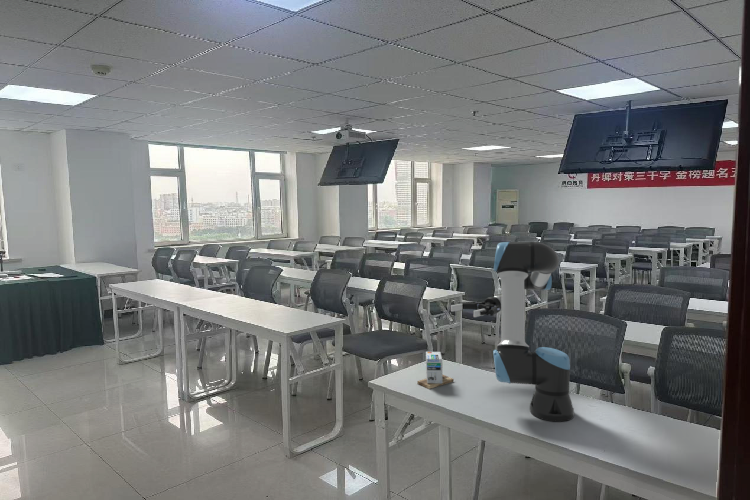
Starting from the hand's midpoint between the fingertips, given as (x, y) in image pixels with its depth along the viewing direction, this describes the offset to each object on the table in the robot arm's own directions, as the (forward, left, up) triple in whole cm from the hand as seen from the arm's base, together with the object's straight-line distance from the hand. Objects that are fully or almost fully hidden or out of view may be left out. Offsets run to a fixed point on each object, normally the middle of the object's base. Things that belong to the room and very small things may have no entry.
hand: (462, 311), depth 215 cm
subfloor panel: (+3, +13, -30) cm, 33 cm away
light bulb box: (+4, +13, -29) cm, 32 cm away
